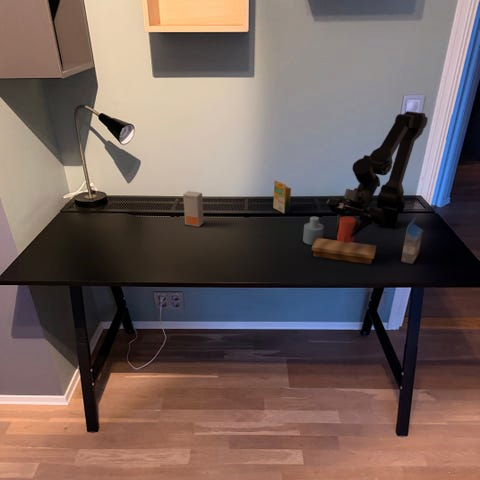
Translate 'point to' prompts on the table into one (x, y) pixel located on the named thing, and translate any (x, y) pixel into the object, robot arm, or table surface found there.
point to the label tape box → (412, 243)
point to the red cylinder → (346, 229)
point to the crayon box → (281, 197)
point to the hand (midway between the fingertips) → (344, 234)
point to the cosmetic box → (193, 208)
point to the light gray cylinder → (312, 231)
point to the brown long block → (344, 250)
